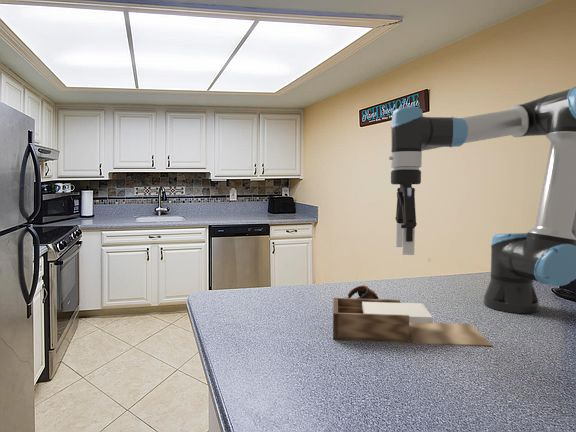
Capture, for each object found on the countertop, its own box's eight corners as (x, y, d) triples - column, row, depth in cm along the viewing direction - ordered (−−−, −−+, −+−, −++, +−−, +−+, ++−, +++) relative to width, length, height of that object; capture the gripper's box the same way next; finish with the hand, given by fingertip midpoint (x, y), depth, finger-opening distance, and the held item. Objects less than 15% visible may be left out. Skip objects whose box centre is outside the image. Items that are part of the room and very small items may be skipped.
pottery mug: (385, 315, 122) (373, 293, 119) (356, 327, 124) (344, 306, 121) (379, 295, 133) (368, 274, 131) (352, 306, 135) (341, 286, 133)
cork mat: (471, 325, 111) (471, 324, 111) (492, 346, 96) (492, 345, 96) (402, 322, 113) (402, 321, 113) (413, 343, 98) (413, 342, 98)
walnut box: (399, 323, 113) (399, 299, 113) (408, 342, 99) (409, 316, 98) (333, 320, 115) (333, 297, 115) (333, 339, 101) (333, 313, 100)
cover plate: (422, 308, 111) (422, 303, 111) (432, 323, 99) (432, 317, 99) (361, 307, 113) (361, 301, 113) (365, 321, 101) (365, 315, 101)
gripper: (386, 171, 120) (385, 243, 121) (396, 166, 95) (395, 258, 96) (413, 171, 119) (412, 244, 120) (430, 166, 94) (428, 258, 95)
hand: (404, 250), depth 108 cm, fingers open, 13 cm apart
